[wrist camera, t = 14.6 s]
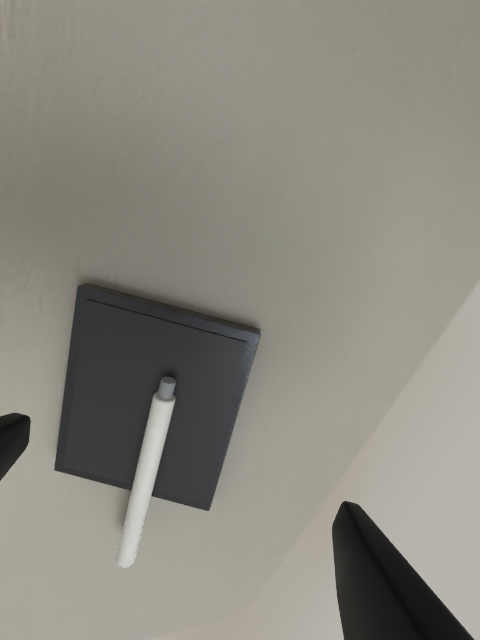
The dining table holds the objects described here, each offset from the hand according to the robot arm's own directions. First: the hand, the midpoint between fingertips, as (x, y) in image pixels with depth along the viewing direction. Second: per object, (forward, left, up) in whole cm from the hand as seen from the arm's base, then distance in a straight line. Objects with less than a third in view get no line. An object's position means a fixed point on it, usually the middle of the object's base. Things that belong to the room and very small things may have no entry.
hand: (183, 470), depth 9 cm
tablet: (+3, +4, -10) cm, 11 cm away
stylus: (+2, +2, -8) cm, 9 cm away
